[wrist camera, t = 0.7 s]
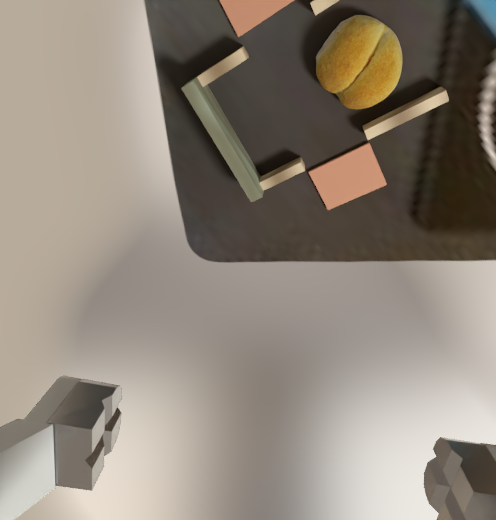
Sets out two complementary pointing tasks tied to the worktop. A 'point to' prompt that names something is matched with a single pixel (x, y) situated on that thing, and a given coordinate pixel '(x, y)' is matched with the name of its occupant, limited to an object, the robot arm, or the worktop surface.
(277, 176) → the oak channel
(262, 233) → the worktop surface
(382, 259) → the worktop surface
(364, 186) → the trap pads
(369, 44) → the bread roll
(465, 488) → the robot arm
